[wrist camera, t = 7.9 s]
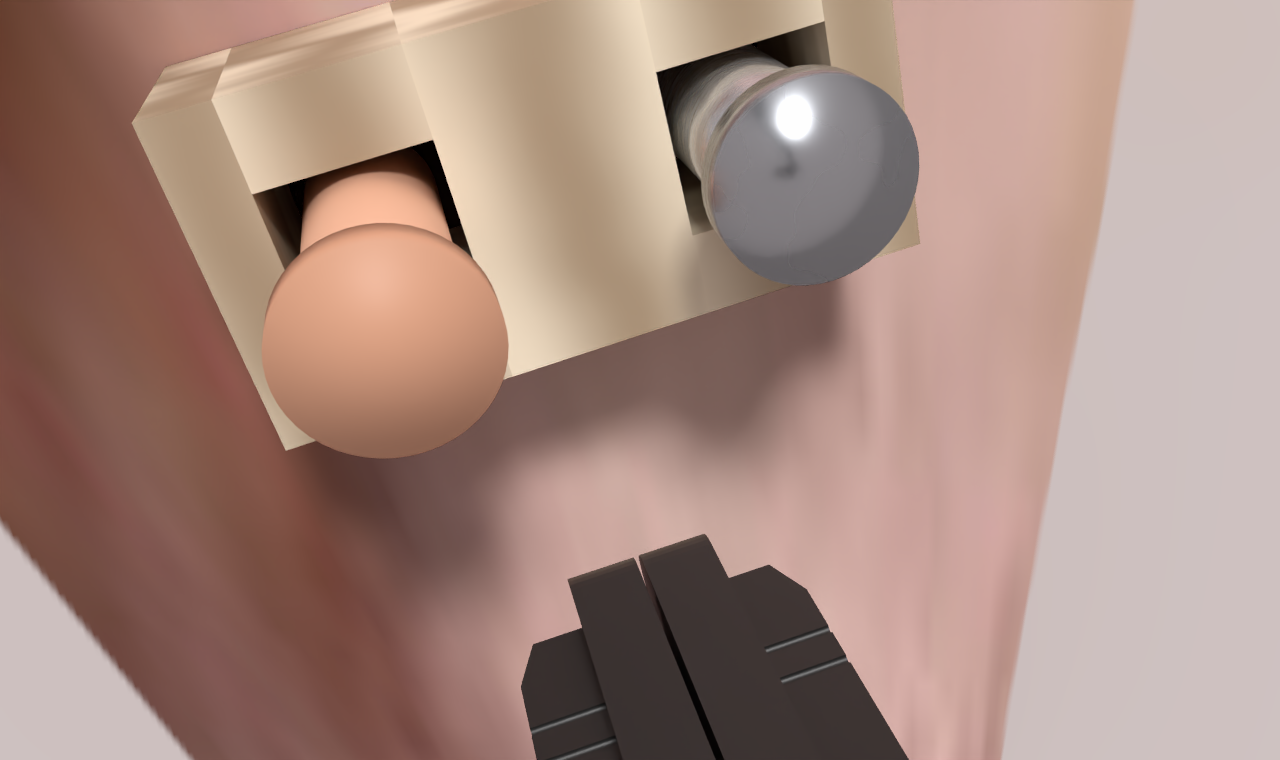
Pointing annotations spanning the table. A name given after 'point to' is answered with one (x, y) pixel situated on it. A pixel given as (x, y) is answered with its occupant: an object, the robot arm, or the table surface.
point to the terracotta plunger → (382, 316)
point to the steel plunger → (792, 161)
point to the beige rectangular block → (491, 151)
